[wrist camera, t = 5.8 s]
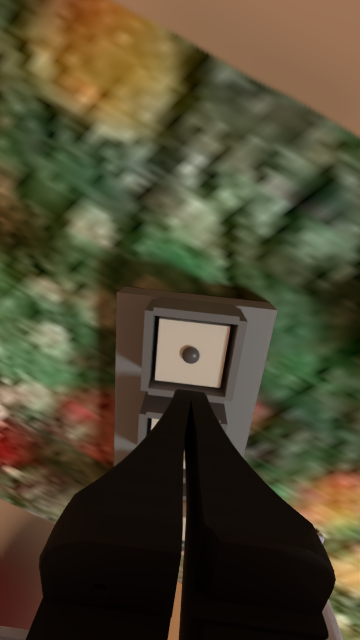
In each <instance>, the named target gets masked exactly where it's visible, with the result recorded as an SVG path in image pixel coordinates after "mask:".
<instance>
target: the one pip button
mask: <svg viewBox="0 0 360 640" xmlns="http://www.w3.org/2000/svg"><path fill="white" fill-rule="evenodd" d="M230 327H231V326H230V324H227V323H218V322H209V321H200V320H191V319H182V318H173V317H164V316H160V319H159V332H158V345H157V358H156V371H155V380H158V381H167V382H175V383H183V384H192V385H200V386H209V387H217V388H220V385H221V379H222V373H223V368H224V362H225V356H226V350H227V345H228V339H229V333H230Z"/></svg>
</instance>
